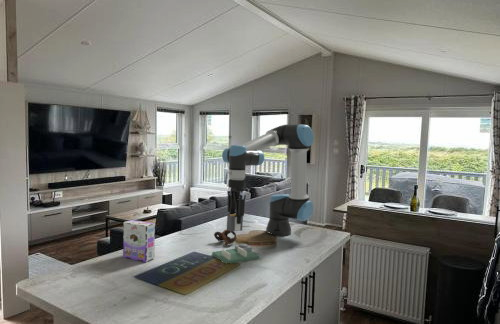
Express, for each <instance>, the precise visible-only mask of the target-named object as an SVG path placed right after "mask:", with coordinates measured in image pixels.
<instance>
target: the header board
mask: <svg viewBox="0 0 500 324" xmlns="http://www.w3.org/2000/svg"><path fill="white" fill-rule="evenodd" d="M212 256H214V257H215V258H216V257H217V258H216V259H218V260H219V259H220V260H221V262H222V261H223V262H224V263H230V264H235V263H236V264H237V263H241V262H247V261H250V260H251V261H252V260H256V259H260V258H261V256H260V254H257V253H256V252H254V251H253V247H252V246H250V245H248V243H247V244H246V243H239V244H235V245H234V248H230V249H221V250H217V251H212ZM220 260H219V261H220ZM223 262H222V263H223ZM224 263H223V264H224Z"/></svg>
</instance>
